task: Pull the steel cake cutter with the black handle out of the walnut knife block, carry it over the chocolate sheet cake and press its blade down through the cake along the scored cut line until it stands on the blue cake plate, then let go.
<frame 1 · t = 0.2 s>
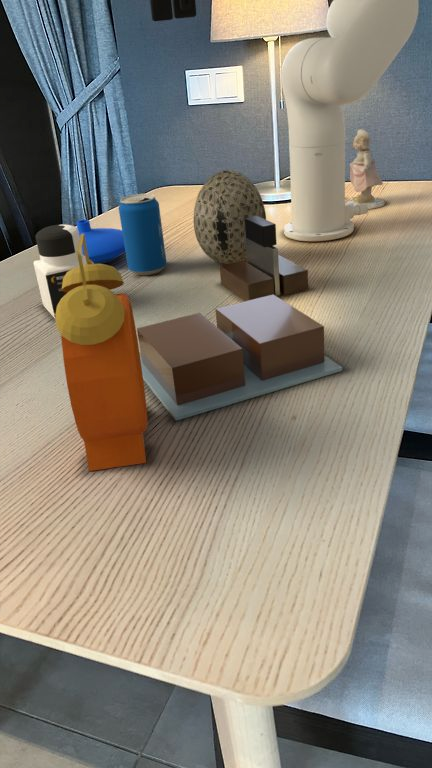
hand: (173, 19, 97), 36 cm above the table, tool pointing down, fingers open, 9 cm apart
decorative egg: (233, 264, 111), on the table
cake: (231, 366, 78), on the table
alarm clock: (119, 439, 67), on the table
beverage can: (148, 271, 112), on the table
cake cutter: (263, 287, 100), on the table
figurine: (359, 204, 138), on the table
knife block: (263, 286, 100), on the table
knife: (99, 345, 87), on the table
medicine bottle: (72, 308, 100), on the table
vase: (90, 261, 120), on the table
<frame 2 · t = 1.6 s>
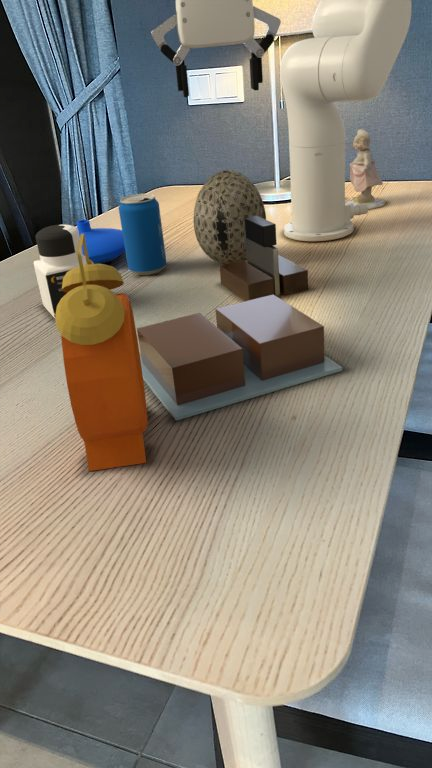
hand: (220, 93, 93), 27 cm above the table, tool pointing down, fingers open, 9 cm apart
nothing on the table moved.
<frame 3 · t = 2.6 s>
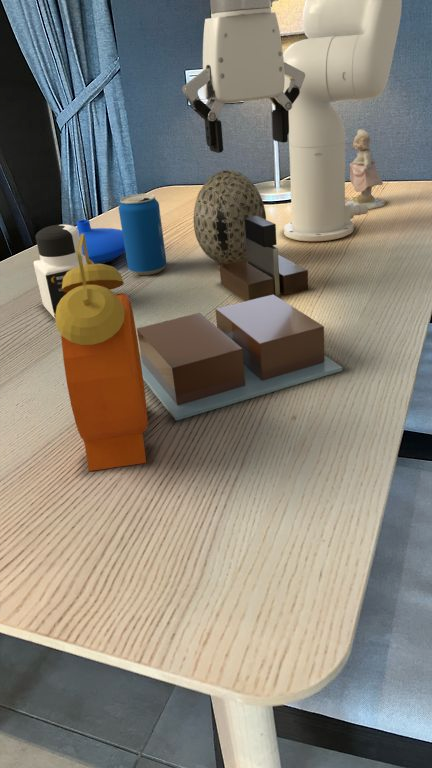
hand: (248, 146, 91), 20 cm above the table, tool pointing down, fingers open, 9 cm apart
nothing on the table moved.
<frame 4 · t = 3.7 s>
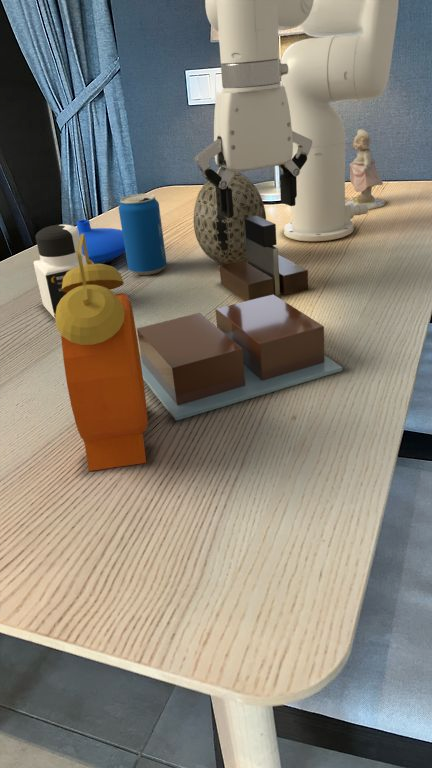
hand: (258, 210, 94), 12 cm above the table, tool pointing down, fingers open, 9 cm apart
nothing on the table moved.
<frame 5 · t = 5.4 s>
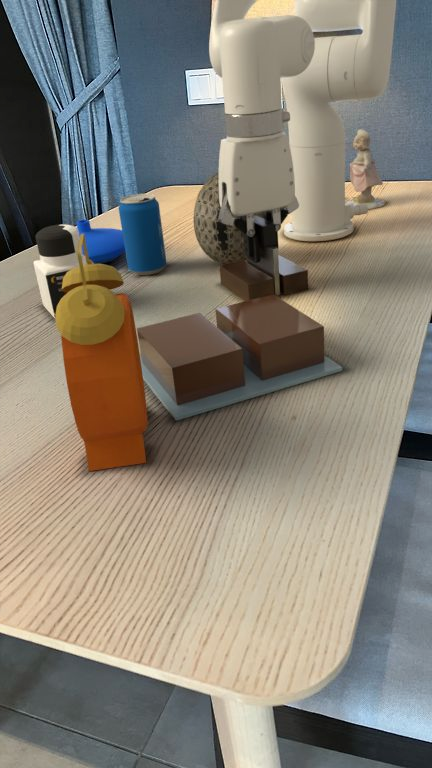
hand: (261, 257, 98), 5 cm above the table, tool pointing down, fingers closed on cake cutter, 2 cm apart
cake cutter: (263, 287, 100), on the table, touching gripper
everything else where it was.
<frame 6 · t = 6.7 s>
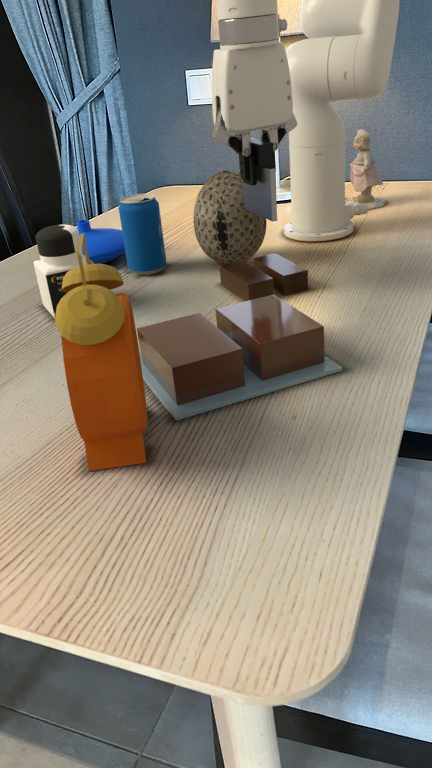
hand: (258, 181, 93), 15 cm above the table, tool pointing down, fingers closed on cake cutter
cake cutter: (260, 214, 96), point 11 cm above the table, touching gripper
everything else where it was.
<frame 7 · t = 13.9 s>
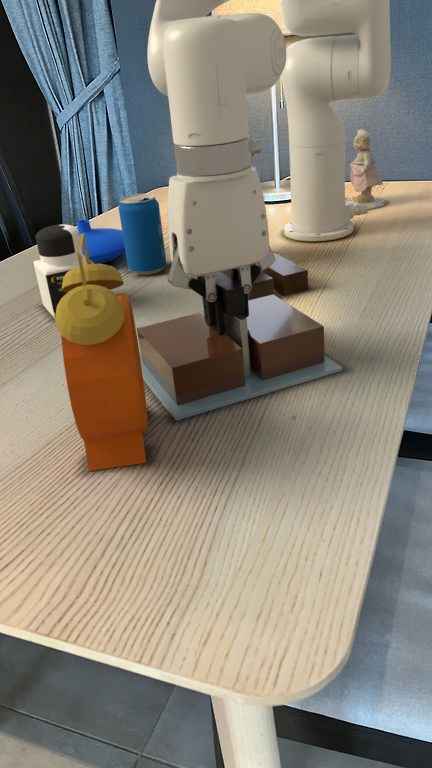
hand: (227, 326, 76), 5 cm above the table, tool pointing down, fingers closed on cake cutter, 2 cm apart
cake cutter: (231, 362, 78), point 1 cm above the table, touching gripper
everything else where it was.
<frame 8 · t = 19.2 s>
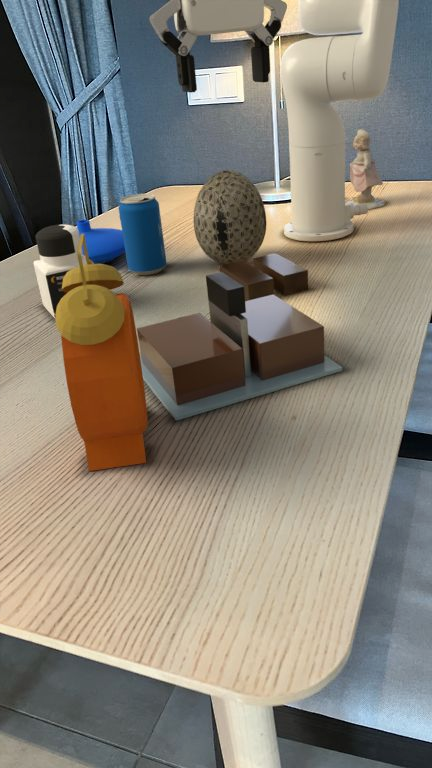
hand: (225, 86, 83), 28 cm above the table, tool pointing down, fingers open, 9 cm apart
cake cutter: (231, 361, 78), resting on cake
everything else where it was.
at the end: cake cutter 0.1 cm off-centre on the cake, point 0.5 cm above the cake's base; cake cutter tilted 0°; the gripper is holding nothing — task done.
